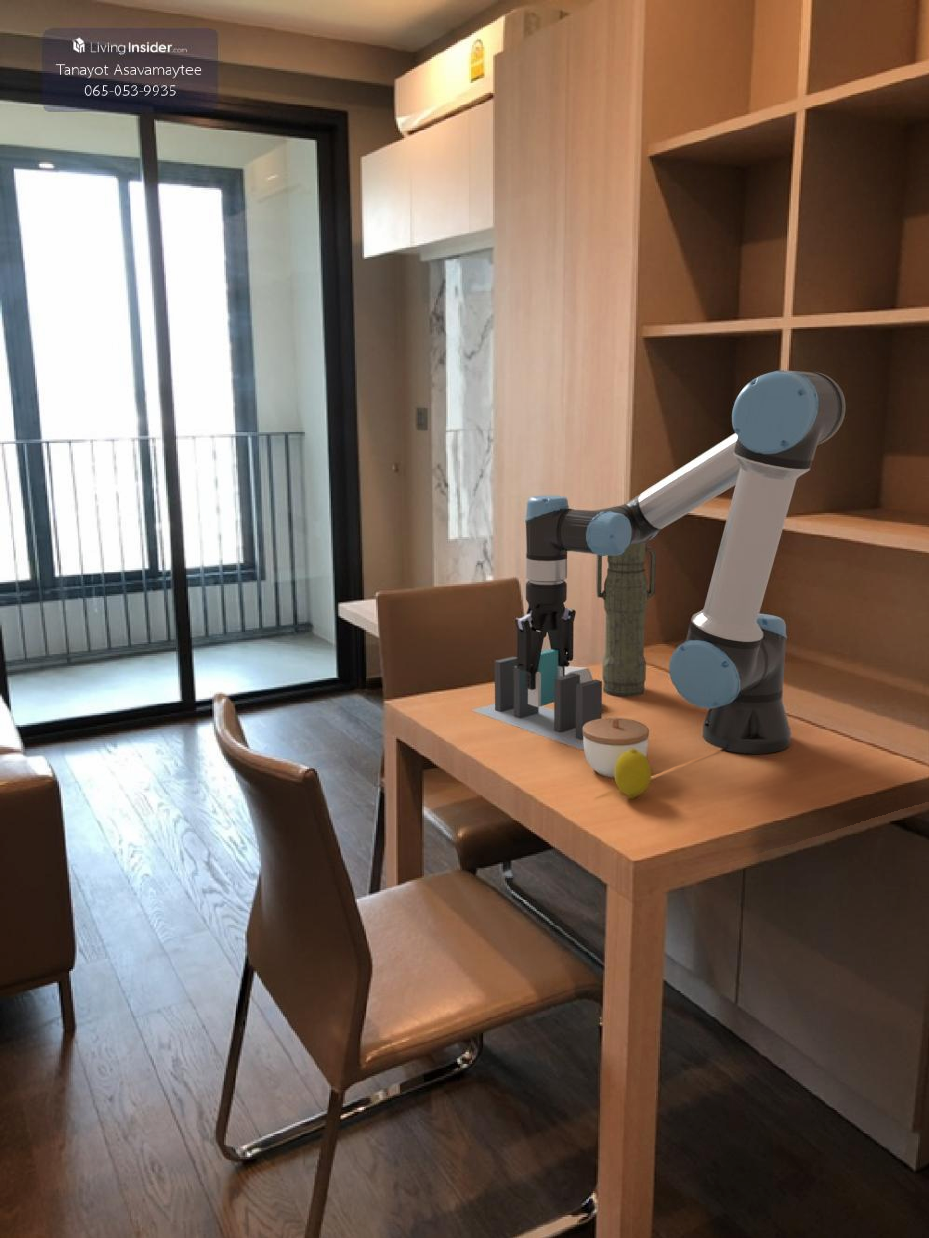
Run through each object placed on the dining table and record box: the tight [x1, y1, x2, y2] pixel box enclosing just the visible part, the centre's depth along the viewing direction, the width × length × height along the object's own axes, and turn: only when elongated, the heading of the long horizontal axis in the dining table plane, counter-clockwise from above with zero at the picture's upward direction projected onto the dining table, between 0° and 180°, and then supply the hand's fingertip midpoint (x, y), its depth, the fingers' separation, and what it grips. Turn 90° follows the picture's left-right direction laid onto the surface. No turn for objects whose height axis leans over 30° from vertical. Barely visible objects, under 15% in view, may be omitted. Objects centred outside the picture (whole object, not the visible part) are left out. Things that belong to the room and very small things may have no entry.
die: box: [564, 665, 594, 683], centre depth 200 cm, size 8×9×10 cm
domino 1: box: [494, 656, 517, 712], centre depth 198 cm, size 2×5×10 cm, turn 130°
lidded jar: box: [582, 717, 650, 778], centre depth 165 cm, size 11×11×9 cm
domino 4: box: [576, 679, 603, 740], centre depth 181 cm, size 2×5×10 cm, turn 130°
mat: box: [470, 703, 584, 750], centre depth 190 cm, size 30×12×1 cm, turn 40°
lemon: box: [614, 749, 652, 799], centre depth 154 cm, size 6×6×8 cm
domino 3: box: [553, 673, 580, 733], centre depth 185 cm, size 2×5×10 cm, turn 130°
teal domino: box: [537, 648, 558, 707], centre depth 189 cm, size 2×5×10 cm, turn 129°
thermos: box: [595, 542, 657, 698], centre depth 207 cm, size 9×12×35 cm
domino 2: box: [514, 664, 539, 719], centre depth 193 cm, size 2×5×10 cm, turn 129°
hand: (545, 701), depth 190 cm, fingers closed on teal domino, 5 cm apart
